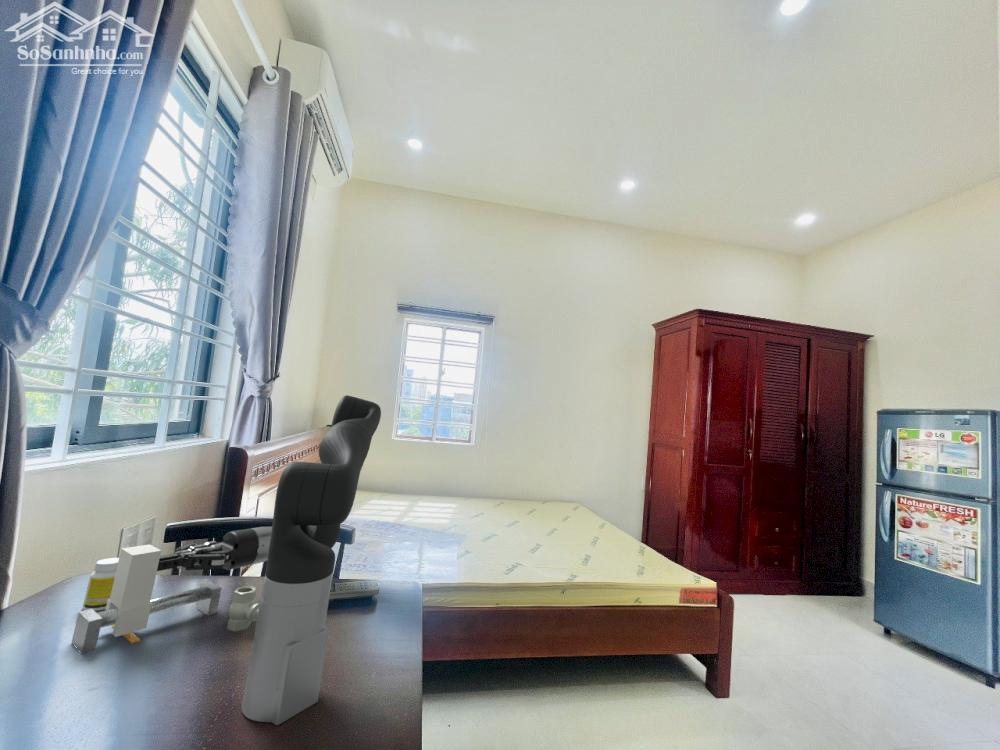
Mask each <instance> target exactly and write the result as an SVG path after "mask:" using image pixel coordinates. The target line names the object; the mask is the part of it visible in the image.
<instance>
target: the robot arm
mask: <svg viewBox="0 0 1000 750" xmlns="http://www.w3.org/2000/svg"><path fill="white" fill-rule="evenodd" d="M332 417H333V418H332V421H331V425H330V428H329V430H328V431H327V432H326V434H324V437H323V438H322V439H321V442H320V443H319V446H318V447H319V448H318V458H319V461H320V462H321V463H320V462H306V461H293V462H291V463H289V464H288V465H287V466H286V467H285V468H284V469H283V471H282V473H281V474H280V478H279V480H278V484H277V489H276V493H275V501H274V509H273V517H272V524H271V525H272V526H260V527H252V528H245V529H238V530H237V529H236V530H231V531H228V532H227V533H225V535H223V537H222V538H221V540H219V541H218V542H217V541H216V540H211V541H206V542H204V543H202V544H199V541H198V540H194V541H191V542H189V543H185V544H184V545H182V546H179V547H177V548H176V549H175V550H174V551H175V552H174V553H170V554H165V555H160V559H159V564H158V568H157V572H160V571H165V570H171V569H176V568H177V569H179V570H180V569H185V570H186V571H204V570H206V571H207V570H212V571H213V570H222V569H225V570H227V571H228V570H229V571H231V570H235V569H239V568H243V567H249V566H252V565H257V564H261V563H264V562H266V568H265V572H264V580H263V585H262V591H261V594H260V599H259V600H260V601H259V603H260V605H259V611H258V617H257V620H256V621H255V623H256V624H255V627H254V628H255V629H254V633H253V634H254V635H253V640H252V646H251V651H250V657H249V661H248V668H247V673H246V680H245V684H244V690H243V696H242V700H241V706H240V707H241V712H242V714H243V715H244V716H245V717H246V718H247V719H249V720H251V721H254V722H260V723H272V724H274V725H275V726H279V725H280V724H282V723H284V722H286V721H288V720H290V719H291V718H292V717H294V716H296V715H298V714H299V713H301V712H303V711H305V710H306V709H307V708H310V707H311V706H313V705H314V704H316V703H318V702H319V696H320V690H321V684H322V678H323V677H322V676H323V671H324V663H325V656H326V652H327V644H328V636H329V631H328V629H325V627H326V622H327V621H326V620H327V614H328V608H329V602H330V601H329V600H330V597H331V596H330V594H331V588H332V583H333V575H334V570H335V569H334V568H335V563H336V553H335V551H334V550H333V549H332V548H334V546H335V545H336V543H337V541H338V538H339V536H340V530H341V524H343V523H344V522H345V521H346V520H347V518H348V517H349V515H350V513H351V512H352V508H353V505H354V502H355V498H356V494H357V490H358V483H359V479H360V476H361V475H360V474H361V471H362V468H363V467H364V462H365V461H366V458H367V457H368V453H369V451H370V449H371V448H370V447H371V443H372V439H373V436H374V434H375V433H376V431H377V429H378V427H379V424H380V421H381V417H382V409H381V407H380V405H379V404H378V403H376V402H374V401H370V400H366V399H363V398H359V397H355V396H352V395H343V396H342V397H341V398H340V400H339V401H338V403H337V405H336V408H335V410H334V413H333V415H332Z"/></svg>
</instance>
